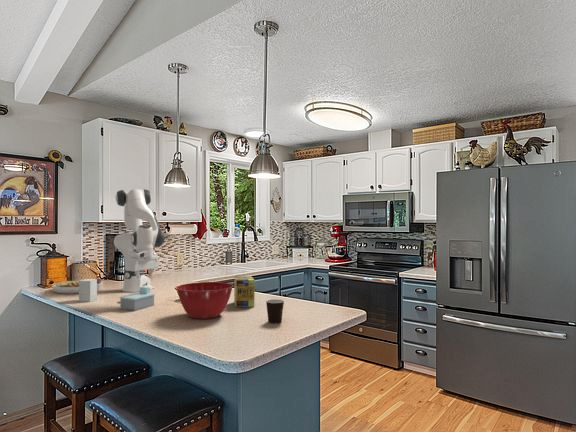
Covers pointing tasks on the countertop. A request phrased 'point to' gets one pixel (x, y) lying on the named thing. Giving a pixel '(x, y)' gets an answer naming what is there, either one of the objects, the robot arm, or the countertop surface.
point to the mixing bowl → (204, 298)
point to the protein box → (244, 291)
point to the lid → (139, 294)
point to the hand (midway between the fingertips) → (144, 277)
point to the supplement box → (87, 290)
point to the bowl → (70, 287)
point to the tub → (136, 303)
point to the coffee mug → (274, 310)
